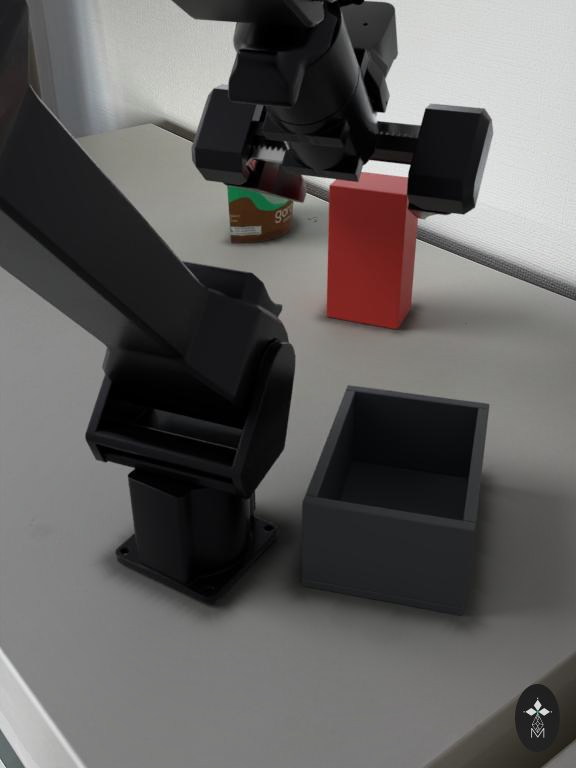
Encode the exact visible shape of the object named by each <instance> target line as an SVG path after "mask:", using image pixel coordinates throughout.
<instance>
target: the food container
mask: <svg viewBox="0 0 576 768" xmlns="http://www.w3.org/2000/svg"><path fill="white" fill-rule="evenodd" d="M226 189H227V203H228V204H227V205H228V217H229V233H230V243H238V244H239V243H241V244H244V243H245V244H247V243H258V242H259V243H260V242H265V241H270V240H274V239H276V238H278V237H281V236H284V235H286V234H288V232H290V230H291V229H292V226H293V214H294V202H295V201H291V200H287V199H283V198H279V197H275V196H271V195H267V194H263V193H258V192H254V191H250V190H245V189H241V188H237V187H231V186H226Z"/></svg>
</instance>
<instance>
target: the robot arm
mask: <svg viewBox="0 0 576 768" xmlns="http://www.w3.org/2000/svg"><path fill="white" fill-rule="evenodd" d="M171 2H172V3H174V4H175V5H176V7H177V6H178V8H180V9H181V10H182V11H183V12H184V13H186V14H187V15H188V16H189V17H191V18H192V19H194V20H198V21H199V20H200V21H211V22H212V21H213V22H225V23H235V28H234V33H233V37H232V43H233V48H234V50H235V52H236V55H235V59H234V62H233V64H232V67H231V71H230V75H229V78H228V83H227V84H225V83H222V84H220V85H218V86H216V87H214V88H213V89H212V90H211V91H210V92H209V93H208V95H207V98H206V99H205V100H206V101H205V104H204V106H203V110H202V112H201V117H200V118H199V119H200V120H199V123H198V126H197V129H196V132H195V136H194V139H193V142H192V144H191V161H192V163H193V164H194V166H195V168H196V169H197V171H198V172H199V173H200V174H201V176H202V177H203V178H204V180H205V181H207V182H208V181H209V182H214V183H222V184H223V185H224V186H226V187H227V186H231V187H237V188H241V189H245V190H250V191H254V192H258V193H263V194H267V195H271V196H275V197H279V198H283V199H287V200H291V201H294V202H296V203H300V204H304V202H305V200H306V197H307V193H308V191H307V190H308V189H307V185H306V182H305V180H304V177H303V176H305V177H306V176H307V177H314V178H322V179H329V180H330V179H331V180H336V179H337V180H345V181H353V182H359V178H360V175H361V172H363V167H364V166H365V165H366V164H367V163H368V162H369V161H372V162H373V161H374V162H382V163H390V164H399V165H406V166H407V165H408V166H409V169H408V172H407V177H408V184H407V197H408V200H409V205H408V210H409V211H410V212H411V213H412V214H413V215H414V216H415V217H417V218H418V220H426V219H427V218H428V217H431V216H436V215H439V216H440V215H441V216H449V215H451V214H452V215H453V214H455V215H461V216H462V215H463V216H464V215H466V214H467V213H469V212H471V211H472V210H473V209H474V210H475V208H476V205H477V201H478V197H479V194H480V189H481V186H482V182H483V177H484V174H485V170H486V169H485V168H486V165H487V161H488V156H489V152H490V150H491V149H490V148H491V145H492V141H493V136H494V126H493V119H492V117H491V115H490V114H489V113H488V111H487V110H486V108H484V107H473V106H463V105H453V104H442V103H441V104H440V103H430V104H428V105H427V106H426V107H425V109H424V112H423V116H422V119H421V123H420V125H419V124H410V123H401V122H393V121H392V122H390V121H382V120H381V121H380V120H377V117H378V113H382V114H385V113H386V112H387V108H388V104H389V100H390V97H391V95H390V91H389V87H388V83H387V76H388V74H389V72H390V71H391V67H392V66H393V64H394V61H395V60H397V58H398V55H399V47H398V33H397V17H396V7H395V6H394V4H392V3H390V2H386V1H375V0H373V1H372V0H171ZM30 15H31V13H30V8H29V5H28V2H27V1H26V0H0V268H1V269H3V270H4V271H6V272H7V273H8V274H10V275H11V276H12V277H14V278H15V279H16V280H18V281H19V282H20V283H22V284H23V285H25V286H26V288H28V289H29V290H31V291H32V292H34V293H35V294H37V295H38V296H39V297H40V298H42V299H43V300H45V301H46V302H47V303H49V304H50V305H51V306H52V307H54V308H55V309H57V310H58V311H59V312H61V313H62V314H63V315H64V316H65V317H67V318H68V319H70V320H71V321H73V322H74V323H75V324H76V325H78V326H79V327H81V328H82V329H83V330H85V331H86V332H87V333H88V334H90V335H92V337H94V338H95V339H96V340H98V341H99V342H101V343H102V344H103V345H104V346H105V347H106V351H105V354H104V359H103V362H102V366H101V368H102V370H103V372H104V376H103V380H102V383H101V386H100V389H99V391H98V395H97V397H96V401H95V404H94V407H93V410H92V412H91V416H90V420H89V421H88V425H87V428H86V431H85V435H84V439H85V441H86V444H87V445H88V447H89V449H90V451H91V453H92V455H93V457H94V459H95V460H96V461H98V462H102V463H108V462H109V463H113V464H116V465H121V466H124V467H127V468H128V467H129V468H131V469H133V470H131V471H130V472H129V473H128V474H127V481H128V489H129V497H130V506H131V514H132V522H133V529H134V530H133V531H134V532H133V534H132V535H131V536H130V537H129V538H127V539H126V540H125V541H123V543H121V544H120V545H119V546H118V547H117V548H116V549H115V559H116V561H117V562H118V563H119V564H122V565H124V566H126V567H128V568H130V569H132V570H134V571H136V572H138V573H141V574H143V575H145V576H147V577H149V578H151V579H153V580H155V581H157V582H160V583H162V584H164V585H166V586H168V587H170V588H172V589H173V590H174V589H175V590H177V591H178V592H180V593H183V594H185V595H186V596H188V597H191V598H193V599H195V600H197V601H199V602H201V603H203V604H207V605H209V604H214V603H216V602H217V601H219V600H220V599H221V597H222V596H223V595H224V594H225V593H226V592H227V591H228V590H229V589H230V588H231V587H232V586H233V585H234V584H235V582H236V581H237V580H238V579H239V578H240V577H241V576H242V575H243V574H244V573H245V572H246V571H247V570H248V569H249V567H250V566H251V565H252V564H253V563H254V562H255V561H256V560H257V559H258V558H259V557H260V556H261V555H262V553H263V552H264V551H265V550H266V549H267V548H268V547H269V546H270V545H271V543H273V541H274V540H276V538H277V537H278V536H279V535H278V533H279V532H278V531H279V530H278V526H277V524H275V523H274V522H271V521H269V520H266V519H264V518H261V517H259V516H257V515H255V511H256V508H257V507H256V490H257V489H258V487H259V486H260V484H261V483H262V482H263V480H264V479H265V478H266V476H267V474H268V473H269V471H270V470H271V468H272V467H273V466H274V464H275V463H276V462H277V460H278V459H279V457H280V456H281V454H282V453H283V452H284V450H285V447H286V441H287V440H286V439H287V433H288V425H289V419H290V410H291V404H292V398H293V397H292V396H293V390H294V389H293V388H294V381H295V374H296V352H295V348H294V346H293V344H291V342H289V341H290V339H289V335H288V331H287V330H286V327H285V324H284V323H283V321H282V320H281V319H280V318H279V316H280V314H281V313H282V311H283V304H281V303H276V302H274V301H273V300H272V299H271V297H270V295H269V292H268V290H267V288H266V285H265V283H264V282H263V280H261V279H260V278H259V277H258V276H257V275H256V274H254V272H250V271H245V270H237V269H232V268H227V267H221V266H216V265H215V266H214V265H209V264H203V263H197V262H191V261H190V262H189V261H185V260H181V258H180V257H179V256H178V255H177V253H175V252H174V250H173V249H172V248H171V247H170V246H169V245H168V243H167V242H166V241H165V240H164V239H163V238H162V236H161V235H160V234H159V233H158V232H157V231H156V229H154V227H153V226H152V225H151V224H150V223H149V222H148V220H147V219H146V218H145V217H144V216H143V215H142V214H141V213H140V212H139V210H138V209H137V208H136V207H135V205H134V204H132V202H131V201H130V200H129V199H128V198H127V196H126V195H125V193H123V191H121V189H120V188H119V187H118V186H117V185H116V183H114V181H113V180H112V179H111V178H110V177H109V176H108V174H106V172H105V171H104V170H103V169H102V168H101V167H100V165H99V164H98V163H97V162H96V161H95V159H93V157H92V156H91V155H90V154H89V153H88V152H87V151H86V149H85V148H84V147H83V146H82V145H81V143H80V142H79V141H78V140H77V139H76V138H75V136H74V135H73V134H72V133H71V132H70V131H69V130H68V129H67V128H66V126H65V125H64V124H63V123H62V121H60V119H59V118H58V117H57V116H56V115H55V114H54V112H52V110H51V109H50V108H49V107H48V105H46V104H45V102H44V101H43V100H42V98H40V97H39V95H38V94H37V93H36V91H35V90H34V88H33V87H32V85H31V84H30V30H31V29H30V27H31V25H30V24H31V23H30V20H31V19H30V17H31V16H30Z"/></svg>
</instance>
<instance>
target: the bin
mask: <svg viewBox="0 0 576 768" xmlns="http://www.w3.org/2000/svg"><path fill="white" fill-rule="evenodd" d="M489 413H490V403H488V402H487V403H486V402H479V401H471V400H463V399H457V398H448V397H441V396H434V395H426V394H418V393H412V392H410V393H409V392H404V391H403V392H402V391H396V390H387V389H380V388H373V387H366V386H357V385H350V384H348V385H347V386H346V389H345V391H344V394H343V396H342V399H341V402H340V403H339V406H338V409H337V411H336V414H335V417H334V420H333V422H332V424H331V427H330V430H329V432H328V435H327V437H326V439H325V440H326V441H325V442H324V445H323V447H322V451H321V453H320V456H319V458H318V461H317V463H316V467H315V469H314V471H313V474H312V477H311V479H310V482H309V484H308V487H307V490H306V492H305V494H304V498H303V499H302V502H301V510H302V511H301V515H302V516H301V517H302V518H301V586H302V587H306V588H311V589H317V590H323V591H329V592H333V593H337V594H338V593H339V594H343V595H349V596H354V597H359V598H360V597H361V598H366V599H371V600H377V601H383V602H388V603H393V604H398V605H399V604H400V605H403V606H408V607H409V606H410V607H413V608H414V607H415V608H420V609H425V610H429V611H430V610H431V611H434V612H435V611H437V612H441V613H447V614H451V615H452V614H453V615H458V616H463V615H464V610H465V603H466V602H465V601H466V595H467V588H468V582H469V575H470V569H471V562H472V554H473V546H474V540H475V534H476V525H477V516H478V508H479V500H480V499H479V498H480V492H481V491H480V490H481V482H482V473H483V465H484V458H485V457H484V455H485V448H486V440H487V439H486V438H487V429H488V421H489V415H490V414H489Z"/></svg>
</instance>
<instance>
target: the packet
mask: <svg viewBox="0 0 576 768" xmlns="http://www.w3.org/2000/svg"><path fill="white" fill-rule="evenodd" d="M407 184H408V176H400V175H392V174H391V175H390V174H383V173H374V172H366V171H361V175H360V178H359V182H353V181H345V180H337V179H334V181H332V183H330V184H329V189H328V191H329V192H328V227H327V228H328V229H327V231H328V233H327V239H328V240H327V270H326V271H327V274H326V275H327V276H326V277H327V278H326V317H327V318H331V319H337V320H343V321H347V322H348V321H349V322H354V323H360V324H365V325H371V326H376V327H380V328H381V327H383V328H388V329H393V330H398V329H399V328H400V326H401V325H402V323H403V322H404V320H405V318H406V317H407V315H408V314H409V313H410V310H411V309H412V297H413V288H414V287H413V285H414V273H415V262H416V261H415V260H416V250H417V249H416V248H417V236H418V224H419V223H418V222H419V218H417V217H415V216H414V215H413V214H412V213H411V212H410V211H409V210H408V205H409V200H408V197H407Z"/></svg>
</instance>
